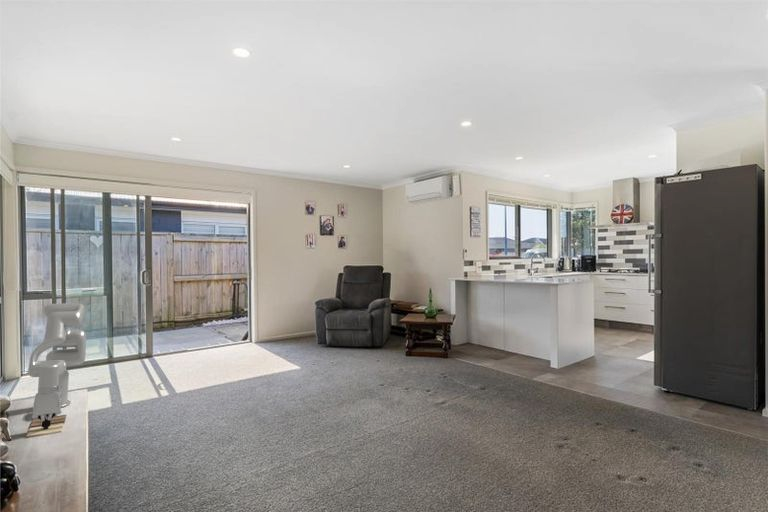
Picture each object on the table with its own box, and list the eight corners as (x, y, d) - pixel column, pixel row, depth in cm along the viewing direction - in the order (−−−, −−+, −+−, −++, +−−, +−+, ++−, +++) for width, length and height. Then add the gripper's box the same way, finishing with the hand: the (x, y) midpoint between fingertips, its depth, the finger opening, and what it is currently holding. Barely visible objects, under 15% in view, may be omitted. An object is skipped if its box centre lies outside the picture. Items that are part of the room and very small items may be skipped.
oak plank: (30, 431, 186) (30, 427, 186) (63, 425, 193) (63, 422, 193) (26, 439, 177) (26, 436, 177) (61, 433, 184) (61, 430, 184)
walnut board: (33, 422, 196) (33, 418, 196) (66, 417, 203) (66, 413, 204) (29, 430, 187) (29, 426, 187) (64, 425, 194) (64, 421, 194)
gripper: (68, 385, 194) (66, 422, 194) (28, 390, 186) (26, 429, 185) (67, 389, 188) (65, 427, 187) (26, 394, 179) (23, 434, 179)
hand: (46, 428), depth 186 cm, fingers closed
